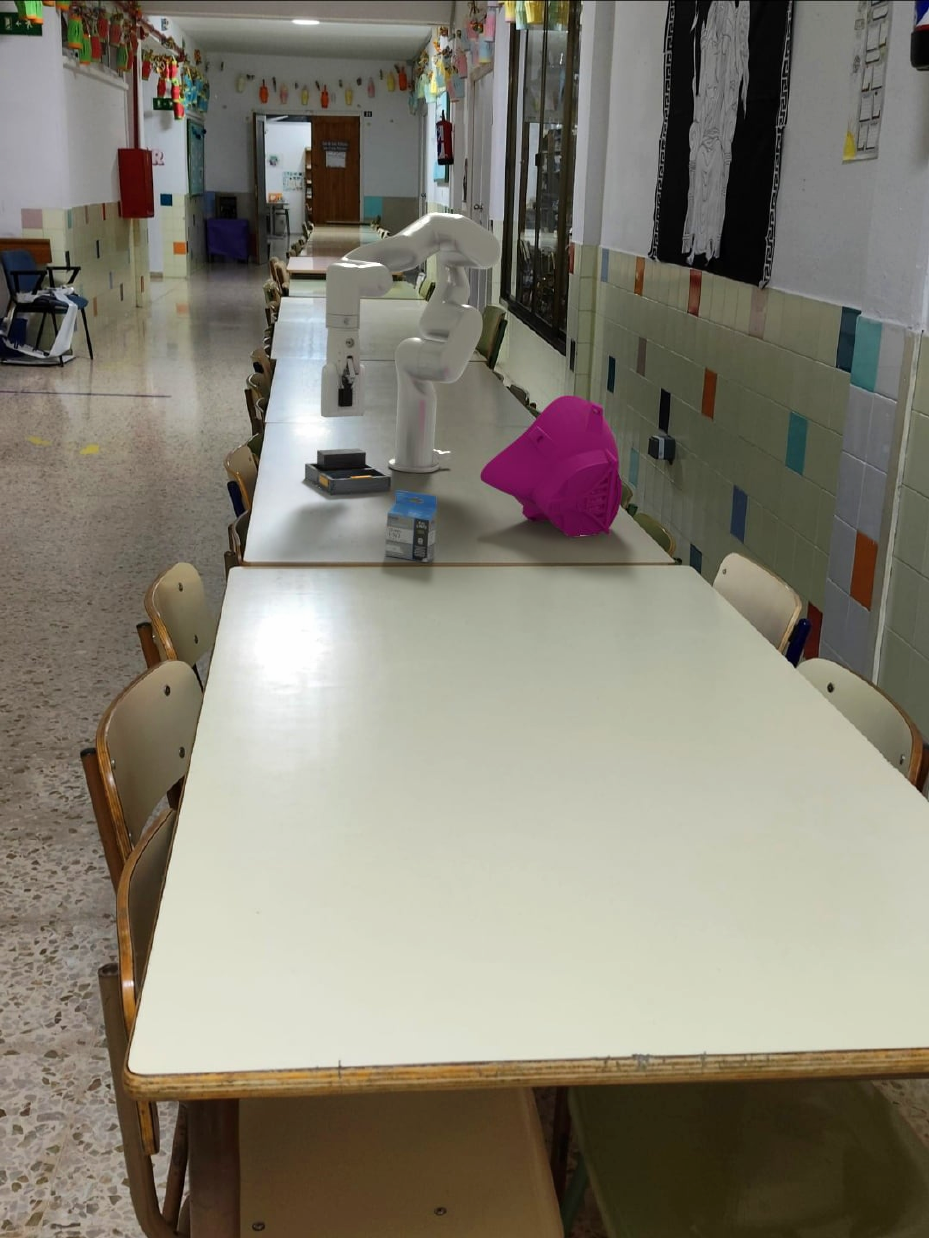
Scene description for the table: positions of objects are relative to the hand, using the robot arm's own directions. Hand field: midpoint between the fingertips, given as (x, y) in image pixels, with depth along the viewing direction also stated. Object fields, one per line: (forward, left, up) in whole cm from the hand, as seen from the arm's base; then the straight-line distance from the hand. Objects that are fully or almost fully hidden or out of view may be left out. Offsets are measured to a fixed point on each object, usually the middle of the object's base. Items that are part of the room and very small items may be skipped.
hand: (341, 403), depth 272 cm
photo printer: (0, 0, -3) cm, 3 cm away
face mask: (-31, +45, -19) cm, 58 cm away
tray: (-2, 0, -19) cm, 19 cm away
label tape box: (+8, +55, -19) cm, 58 cm away
